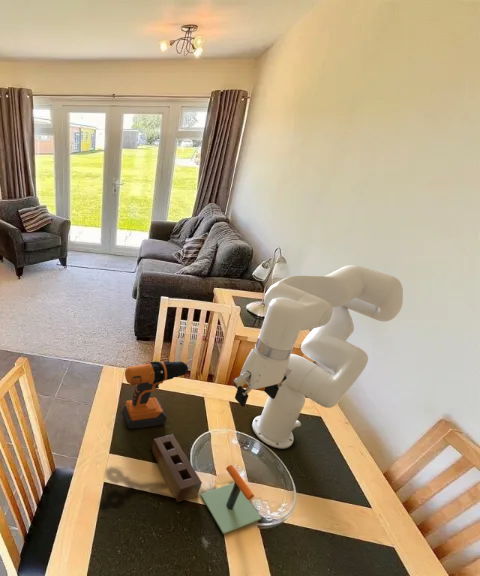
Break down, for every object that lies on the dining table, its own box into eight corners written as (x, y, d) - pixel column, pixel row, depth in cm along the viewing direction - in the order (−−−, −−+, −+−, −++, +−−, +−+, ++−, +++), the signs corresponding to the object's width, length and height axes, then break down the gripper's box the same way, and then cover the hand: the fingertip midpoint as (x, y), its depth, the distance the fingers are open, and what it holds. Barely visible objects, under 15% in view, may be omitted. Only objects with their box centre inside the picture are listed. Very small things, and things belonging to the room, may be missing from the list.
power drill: (173, 405, 117) (185, 352, 105) (182, 422, 110) (195, 367, 99) (117, 413, 113) (123, 358, 101) (123, 430, 106) (129, 374, 95)
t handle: (223, 490, 89) (233, 463, 84) (242, 520, 82) (255, 493, 77) (217, 492, 89) (227, 465, 83) (236, 523, 82) (248, 496, 76)
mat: (235, 483, 92) (236, 481, 92) (260, 519, 83) (261, 518, 83) (200, 495, 88) (200, 493, 88) (223, 534, 80) (223, 533, 80)
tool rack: (170, 446, 102) (172, 433, 99) (197, 495, 88) (202, 482, 86) (151, 451, 100) (153, 439, 97) (177, 502, 87) (180, 489, 84)
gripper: (288, 333, 81) (269, 382, 89) (233, 343, 77) (218, 394, 84) (314, 350, 75) (291, 402, 83) (255, 363, 70) (237, 417, 78)
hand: (254, 398), depth 84 cm, fingers open, 9 cm apart
